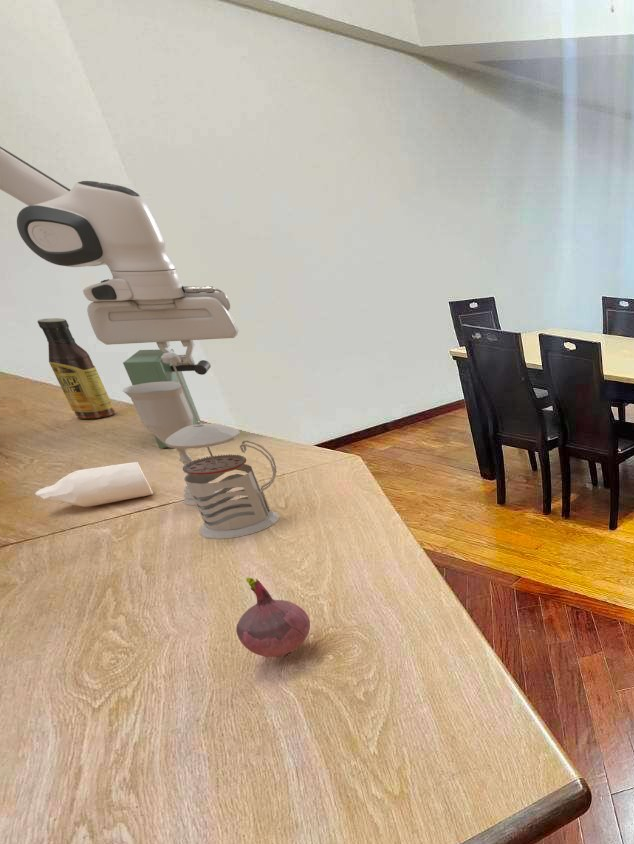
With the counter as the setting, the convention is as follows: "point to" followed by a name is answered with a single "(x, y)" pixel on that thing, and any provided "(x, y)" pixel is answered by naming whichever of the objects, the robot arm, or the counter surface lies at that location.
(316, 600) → the counter surface
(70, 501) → the white bottle
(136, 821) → the counter surface
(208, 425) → the french press
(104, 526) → the counter surface
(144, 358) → the green wedge with knob
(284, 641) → the vegetable
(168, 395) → the chalice
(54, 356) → the sauce bottle
